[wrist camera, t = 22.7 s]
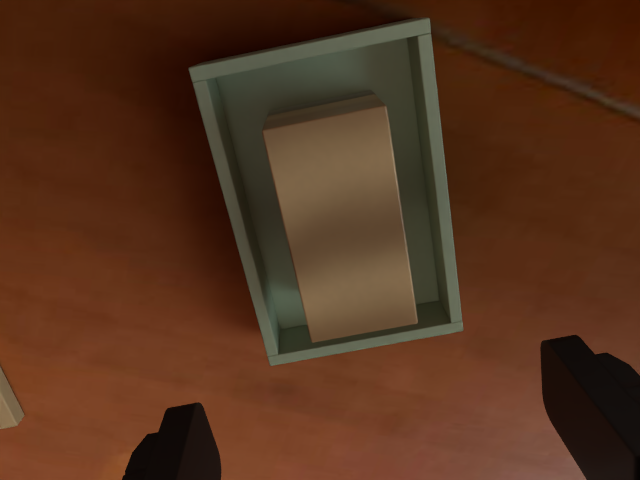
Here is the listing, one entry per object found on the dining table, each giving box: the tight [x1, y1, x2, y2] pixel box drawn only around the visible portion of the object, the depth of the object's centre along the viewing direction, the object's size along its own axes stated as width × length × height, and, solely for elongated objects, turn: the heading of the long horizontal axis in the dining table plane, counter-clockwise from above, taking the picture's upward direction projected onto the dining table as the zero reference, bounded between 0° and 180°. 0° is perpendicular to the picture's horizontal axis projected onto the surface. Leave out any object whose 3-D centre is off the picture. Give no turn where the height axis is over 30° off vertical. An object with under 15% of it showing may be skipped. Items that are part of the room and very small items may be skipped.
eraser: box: [262, 90, 418, 343], centre depth 25 cm, size 10×5×5 cm, turn 11°
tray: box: [189, 18, 463, 366], centre depth 27 cm, size 15×10×3 cm
